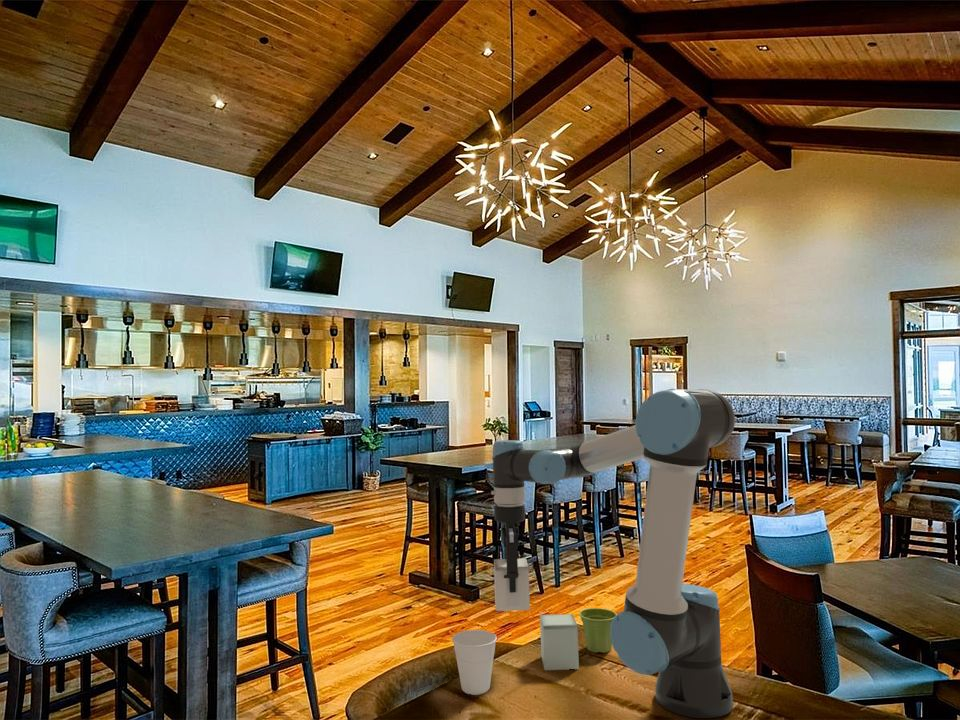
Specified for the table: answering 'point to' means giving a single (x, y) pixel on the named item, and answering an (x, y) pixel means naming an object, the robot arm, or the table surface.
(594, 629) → the plant pot
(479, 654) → the cup
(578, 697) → the table surface
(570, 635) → the sage cover
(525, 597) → the white cover
